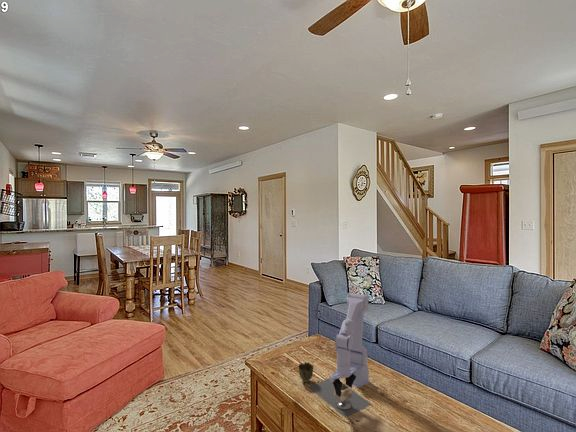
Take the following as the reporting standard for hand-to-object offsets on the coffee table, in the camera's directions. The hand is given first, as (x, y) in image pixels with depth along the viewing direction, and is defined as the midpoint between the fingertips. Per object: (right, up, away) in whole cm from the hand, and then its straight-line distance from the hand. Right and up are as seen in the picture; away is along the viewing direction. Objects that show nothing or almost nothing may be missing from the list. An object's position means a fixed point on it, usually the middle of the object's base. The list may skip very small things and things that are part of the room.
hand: (343, 393), depth 132 cm
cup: (-15, -6, +19) cm, 25 cm away
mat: (-1, -6, +7) cm, 9 cm away
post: (0, -5, 0) cm, 5 cm away
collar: (0, -2, 0) cm, 2 cm away
